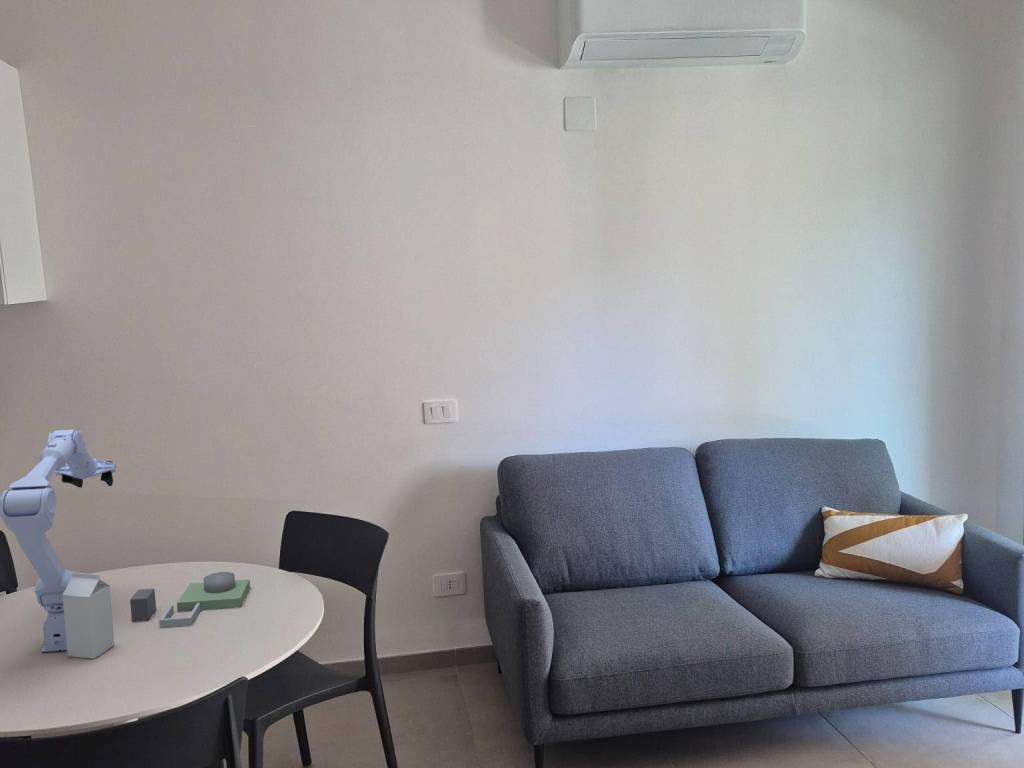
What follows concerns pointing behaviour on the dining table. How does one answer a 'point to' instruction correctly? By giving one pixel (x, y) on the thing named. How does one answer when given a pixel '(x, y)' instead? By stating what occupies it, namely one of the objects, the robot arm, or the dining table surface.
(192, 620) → the green panel
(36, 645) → the dining table surface
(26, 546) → the robot arm
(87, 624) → the milk carton
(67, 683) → the dining table surface
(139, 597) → the dark gray block
